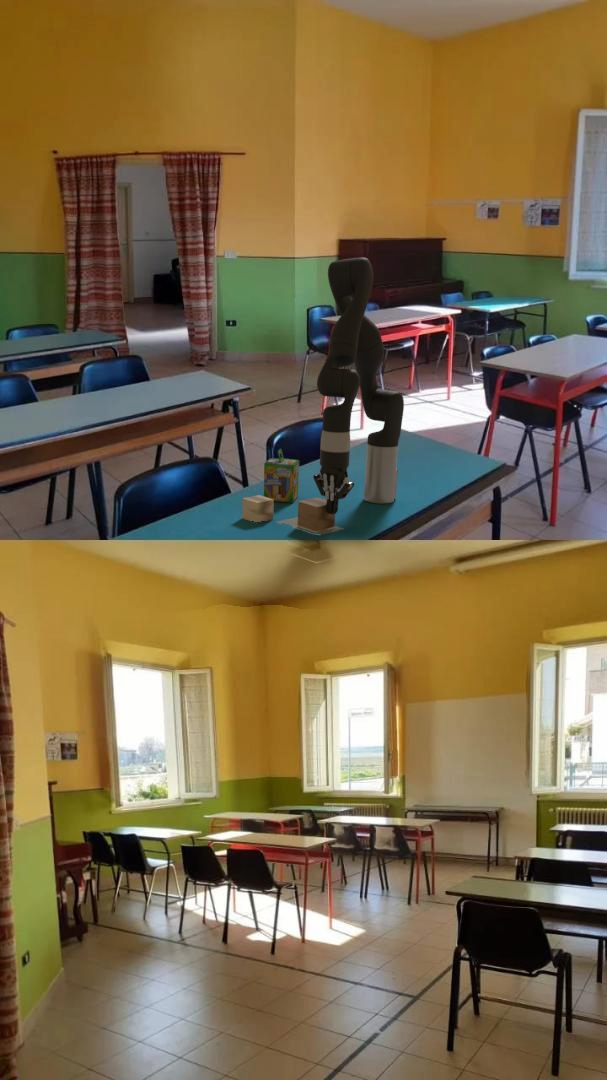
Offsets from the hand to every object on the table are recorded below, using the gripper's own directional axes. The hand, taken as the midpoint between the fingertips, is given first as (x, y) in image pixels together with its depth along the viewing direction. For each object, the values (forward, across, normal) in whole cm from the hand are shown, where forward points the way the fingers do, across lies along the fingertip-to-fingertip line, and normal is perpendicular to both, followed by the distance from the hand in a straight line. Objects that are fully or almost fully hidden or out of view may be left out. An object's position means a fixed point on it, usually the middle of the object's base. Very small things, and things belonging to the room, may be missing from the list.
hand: (331, 513), depth 217 cm
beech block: (+6, +21, +7) cm, 23 cm away
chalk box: (+6, +34, -14) cm, 37 cm away
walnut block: (+5, +5, 0) cm, 7 cm away
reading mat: (+5, +8, 0) cm, 10 cm away
